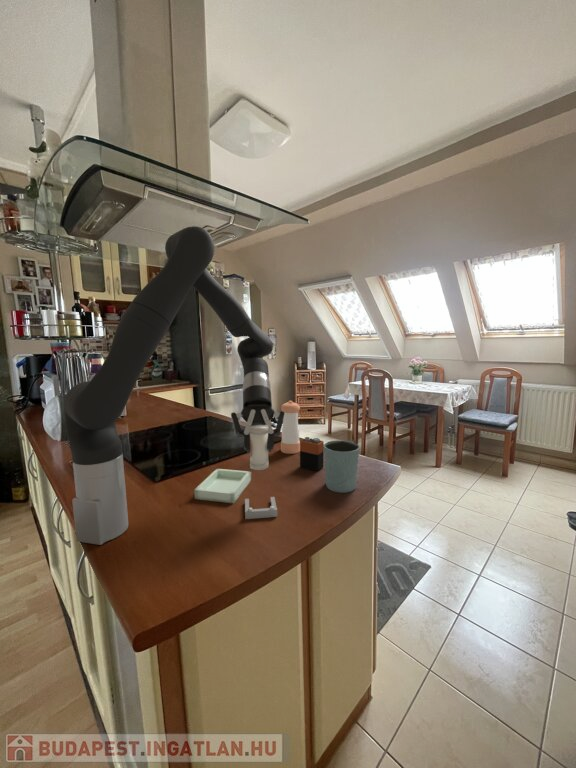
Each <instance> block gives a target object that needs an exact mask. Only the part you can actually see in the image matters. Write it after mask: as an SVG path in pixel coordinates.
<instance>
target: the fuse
mask: <svg viewBox="0 0 576 768" xmlns="http://www.w3.org/2000/svg"><path fill="white" fill-rule="evenodd" d="M249 432H250V453H249V468H250V469H252V470H254V471H263V470H266V469H269V466H270V465H269V464H270V463H269V452H268V425H265V424H254V425H251V426H249Z"/></svg>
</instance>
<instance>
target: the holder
mask: <svg viewBox="0 0 576 768" xmlns="http://www.w3.org/2000/svg"><path fill="white" fill-rule="evenodd" d="M244 516H245V518H244V519H245V520H252V519H253V520H254V519H265V518H266V519H267V518H277V517H278V507H277V503H276V498H275V496H270V506H269V507H266V508H253V507H250V498H244Z"/></svg>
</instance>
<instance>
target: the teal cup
mask: <svg viewBox="0 0 576 768" xmlns="http://www.w3.org/2000/svg"><path fill="white" fill-rule="evenodd" d="M360 448H361V447H360V445H359V444H358V443H355V442H353V441H348V440H330V441H327V442H324V455H323V456H324V473H325V474H324V475H325V478H324V479H325V486H326V488H327V489H328V490H330V491H332V492H335V493H340V494H343V493H345V494H346V493H350V492H352V491H354V490H356V487H357V473H358V467H359V463H358V462H359V456H360Z"/></svg>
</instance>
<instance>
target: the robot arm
mask: <svg viewBox="0 0 576 768" xmlns="http://www.w3.org/2000/svg"><path fill="white" fill-rule="evenodd" d="M164 251H165V255H166V257H167V259H168V260H167V262H166V263H165V265H164V266H163V268H162V269H161V270H160V271H159V272H158V273H157V274H156V275H155V276H154V277H153V278H152V279H151V280H150V281H148V283H147V284H146V285H145V286H144V287H143V288H142V289H141V290H140V291H139V292H138V293H137V294H136V295H135V296H134V298H133V299H132V301H131V302H130V304H129V305H128V307H127V308H126V310H125V311H124V312H123V313H124V314H123V315H121V318H120V320H119V322H118V324H117V326H116V329H115V332H114V334H113V338H112V342H111V345H110V349H109V351H108V353H107V356H106V358H105V360H104V362H103V363H102V365H101V366H100V367H99V369H98V370H97V372H96V373H95V374H94V376H93V377H92V379H90V381H82V382H79V383H77V384H75V385H73V386H72V387H71V388H70V389H69V390H68V391H67V392H66V395H65V397H64V401H63V410H64V420H65V427H66V435H67V443H68V447H69V449H70V453H71V458H72V459H71V460H72V469H73V476H74V477H73V478H74V487H75V496H76V497H74V498H72V500H71V501H72V509H73V520H74V529H75V538H76V542H79V543H85V544H91V545H99V546H101V545H103V544H105V543H107V542H108V541H111V540H114V539H115V538H118V537H120V536H121V535H122V534H124V533H125V532H126V530H128V528H129V516H128V515H129V514H128V504H127V502H128V501H127V491H126V489H127V488H126V480H125V469H124V454H123V443H122V440H121V438H120V436H119V434H118V431H117V427H116V422H117V420H119V418H120V417H121V415H122V414H123V412H124V411H125V410H124V409H125V408H126V405H127V403H128V401H129V399H130V396H131V394H132V392H133V390H134V387H135V385H136V383H137V381H138V379H139V377H140V375H141V374H142V372H143V370H144V369H145V367H146V366H147V365H148V362H149V361H150V360H151V358H152V356H153V354H154V353H155V351H156V350H157V348H158V346H159V344H160V343H161V342H162V340H163V339H164V337H165V335H166V334H167V332H168V331H169V328H170V327H171V326H172V323H173V321H174V319H175V318H176V316H177V314H178V312H179V310H180V309H181V307H182V305H183V303H184V301H185V299H186V298H187V295H188V294H189V292H190V290H191V289H192V288H194V289H195V290H196V291H197V292H198V293H199V295H200V296H201V297H202V298H203V299H204V300H205V301H206V303H208V305H209V306H210V308H211V309H212V310H213V311H214V312H215V313H216V315H217V317H218V318H219V319H220V321H221V322H222V324H223V325H224V326H225V327H226V330H228V332H229V333H230V335H232V337H234V338H242V337H247V338H244V339H243V340H241V341H240V342H239V343H238V345H237V349H236V351H237V354H238V357H239V360H240V362H241V365H242V368H243V382H242V410H241V412H237V413H236V412H231V414H230V416H231V417H230V418H231V423H232V426H233V428H234V431H235V434H236V437H238V438H243V449H244V451H246V453H247V454H250V432H249V426H251V425H254V424H265V425H268V453H271V452H272V450H274V448H275V437H279V436H280V435H281V432H282V427H283V419H284V412H283V411H282V410H281V411H279V412H278V411H275V409H274V408H273V402H272V400H273V399H272V390H271V387H272V386H271V381H270V376H269V374H270V373H269V365H268V362H267V361H266V360H265V359H264V357H266V356H269V355H270V354H271V353H272V352H273V350H274V344H273V341H272V339H271V338H270V336H269V335H268V334H267V333H266V332H265V331H264V330H262V329H261V328H260V327H259V326H258V325H257V324H256V323H255V322H254V321H253V320H252V319H251V317H249V314H248V313H247V311H246V310H245V309H244V307H243V305H242V304H241V303H240V302H239V300H238V299H237V298H236V296H234V295H233V294H232V293H231V292H229V290H228V289H226V288H225V287H224V286H222V284H220V282H218V281H217V280H216V279H215V277H214V276H213V275H212V274H211V273H210V271H209V269H208V268H207V267H208V266H209V265H210V264H211V262H212V260H213V258H214V255H215V242H214V239H213V237H212V236H211V234H210V232H208V231H207V230H206V229H205V228H204V227H201V226H196V225H195V226H187V227H185V228H182V229H181V230H178V231H176V232H175V233H173V234H171V235H170V236H169V237H168V238H167V240H166V242H165V247H164ZM273 418H275V421H276V422H277V424H276V426H275V428H274V429H273V427H272V422H271V420H273ZM241 419H243V421H244V422H246V425H245V427H244V429H242V428H241V424H240V422H241Z"/></svg>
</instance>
